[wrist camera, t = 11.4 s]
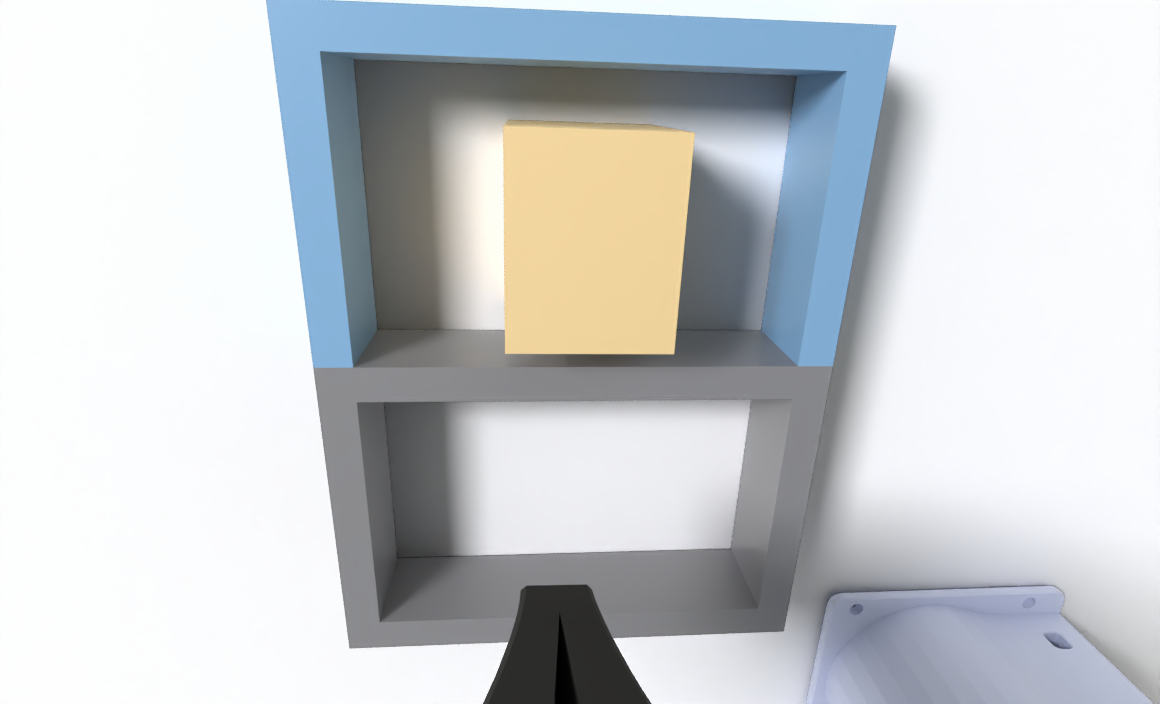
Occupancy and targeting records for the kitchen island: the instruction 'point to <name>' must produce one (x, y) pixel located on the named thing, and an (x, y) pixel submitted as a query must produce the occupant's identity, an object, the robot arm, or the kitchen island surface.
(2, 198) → the kitchen island surface
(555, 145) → the sand colored cube
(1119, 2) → the kitchen island surface
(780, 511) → the two-compartment tray
